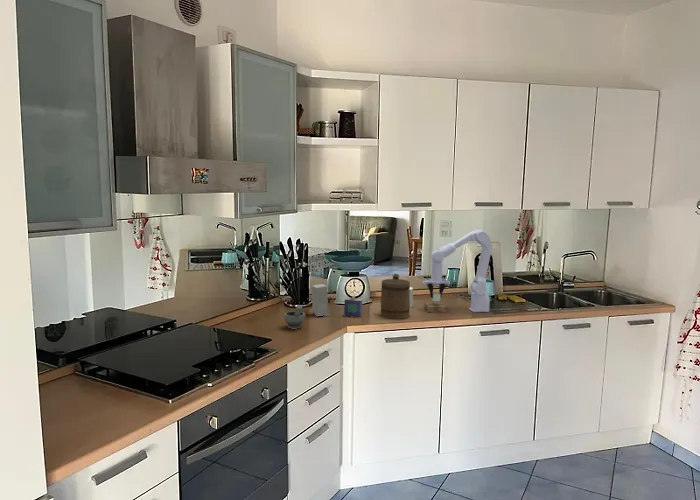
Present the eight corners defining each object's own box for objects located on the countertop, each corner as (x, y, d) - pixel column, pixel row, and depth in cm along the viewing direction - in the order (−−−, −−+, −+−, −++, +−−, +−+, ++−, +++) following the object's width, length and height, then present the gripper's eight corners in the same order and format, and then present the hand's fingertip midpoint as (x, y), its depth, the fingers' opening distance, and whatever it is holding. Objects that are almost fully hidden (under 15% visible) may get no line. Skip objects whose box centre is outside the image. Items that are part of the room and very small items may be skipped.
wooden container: (398, 311, 291) (399, 270, 288) (414, 317, 278) (416, 275, 275) (375, 314, 284) (376, 272, 281) (390, 320, 271) (391, 277, 268)
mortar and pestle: (281, 326, 258) (281, 302, 256) (299, 324, 263) (299, 299, 261) (291, 332, 248) (291, 307, 247) (309, 329, 253) (309, 304, 252)
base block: (442, 307, 299) (442, 302, 298) (446, 312, 289) (447, 306, 289) (424, 307, 298) (424, 302, 298) (428, 312, 288) (428, 306, 288)
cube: (438, 299, 295) (438, 292, 294) (440, 301, 291) (440, 294, 290) (431, 299, 295) (431, 292, 294) (433, 301, 291) (433, 294, 290)
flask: (362, 316, 279) (362, 296, 277) (361, 317, 276) (361, 297, 275) (344, 315, 281) (345, 295, 279) (343, 316, 278) (343, 296, 276)
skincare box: (328, 316, 277) (329, 286, 275) (315, 317, 275) (315, 287, 273) (324, 312, 285) (324, 283, 283) (311, 313, 283) (311, 284, 281)
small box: (412, 305, 304) (413, 287, 302) (412, 307, 298) (413, 289, 297) (398, 305, 305) (398, 286, 303) (398, 307, 299) (398, 288, 298)
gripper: (425, 274, 286) (424, 299, 288) (451, 274, 287) (450, 299, 289) (422, 271, 293) (421, 296, 295) (448, 271, 294) (447, 296, 296)
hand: (435, 297), depth 293 cm, fingers closed on cube, 4 cm apart
